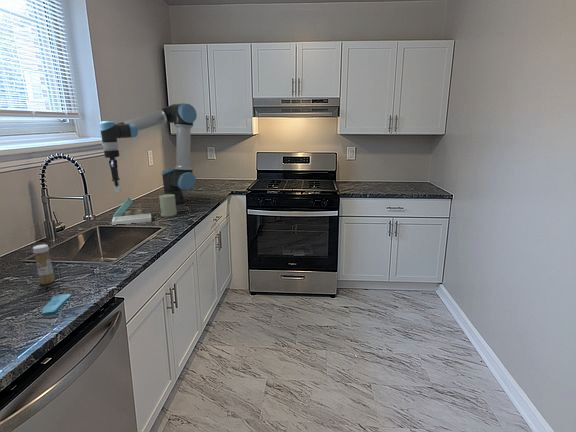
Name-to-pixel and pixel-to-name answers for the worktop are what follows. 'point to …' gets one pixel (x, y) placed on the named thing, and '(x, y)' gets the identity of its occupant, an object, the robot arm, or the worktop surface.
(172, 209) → the can
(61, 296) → the sponge
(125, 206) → the bar
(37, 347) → the worktop surface
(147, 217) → the tray
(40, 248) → the sprinkles bottle
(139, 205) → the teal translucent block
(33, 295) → the worktop surface
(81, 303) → the worktop surface
